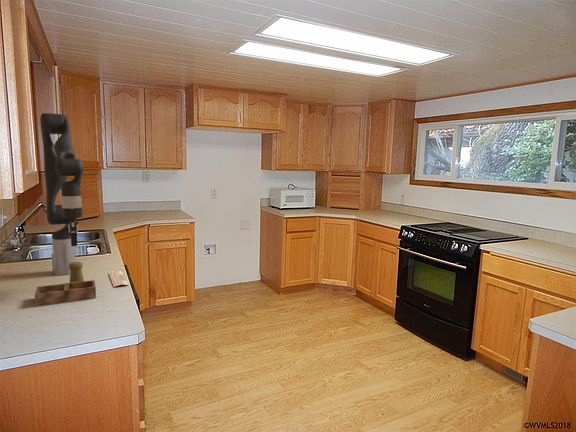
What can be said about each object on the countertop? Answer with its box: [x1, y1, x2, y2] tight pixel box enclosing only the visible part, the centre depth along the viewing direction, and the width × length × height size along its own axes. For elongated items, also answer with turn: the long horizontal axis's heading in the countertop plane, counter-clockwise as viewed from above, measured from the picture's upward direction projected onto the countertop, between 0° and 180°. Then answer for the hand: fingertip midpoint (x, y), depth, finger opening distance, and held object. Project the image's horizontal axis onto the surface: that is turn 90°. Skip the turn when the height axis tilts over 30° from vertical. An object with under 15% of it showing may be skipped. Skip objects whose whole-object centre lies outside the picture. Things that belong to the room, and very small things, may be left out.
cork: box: [69, 261, 85, 283], centre depth 168 cm, size 6×6×11 cm
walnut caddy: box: [34, 279, 97, 307], centre depth 155 cm, size 20×10×4 cm, turn 118°
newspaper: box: [108, 270, 130, 288], centre depth 180 cm, size 24×7×2 cm, turn 30°
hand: (74, 244), depth 166 cm, fingers open, 8 cm apart
